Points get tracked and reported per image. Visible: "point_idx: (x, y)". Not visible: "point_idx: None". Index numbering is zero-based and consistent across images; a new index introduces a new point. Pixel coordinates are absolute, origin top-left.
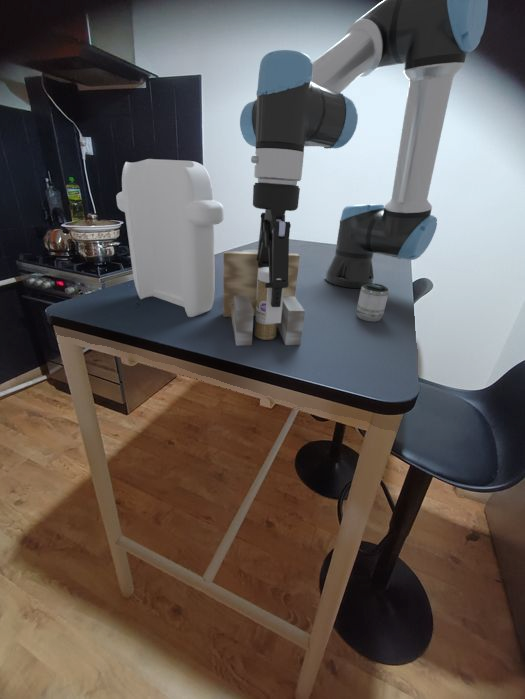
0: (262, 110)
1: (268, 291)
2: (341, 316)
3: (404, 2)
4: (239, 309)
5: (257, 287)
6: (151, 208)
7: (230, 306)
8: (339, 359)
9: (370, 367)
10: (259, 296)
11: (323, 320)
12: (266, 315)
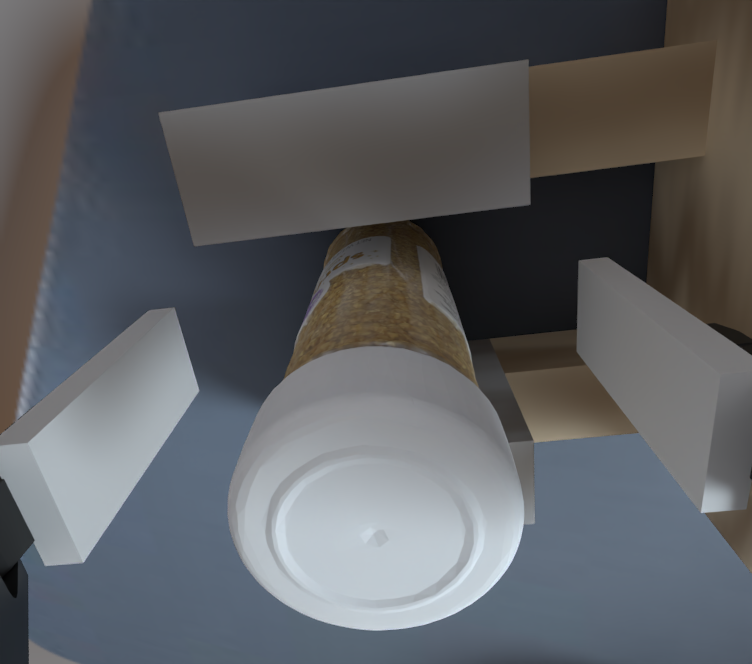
0: None
1: (18, 426)
2: (627, 622)
3: None
4: (187, 133)
5: (617, 293)
6: None
7: (706, 32)
8: (210, 533)
9: (177, 605)
10: (327, 309)
11: (582, 548)
12: (125, 331)
